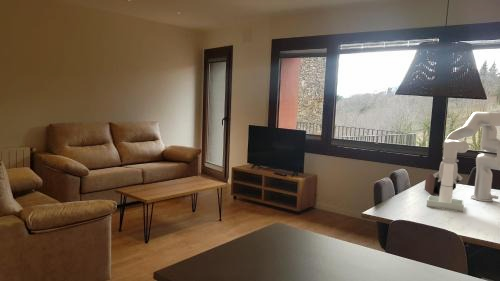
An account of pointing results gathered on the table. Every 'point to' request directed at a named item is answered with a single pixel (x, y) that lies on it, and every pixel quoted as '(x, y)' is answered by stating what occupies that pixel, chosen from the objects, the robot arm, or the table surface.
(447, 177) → the cylindrical container
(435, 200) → the tray
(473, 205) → the table surface
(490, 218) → the table surface
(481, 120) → the robot arm
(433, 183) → the letter holder
